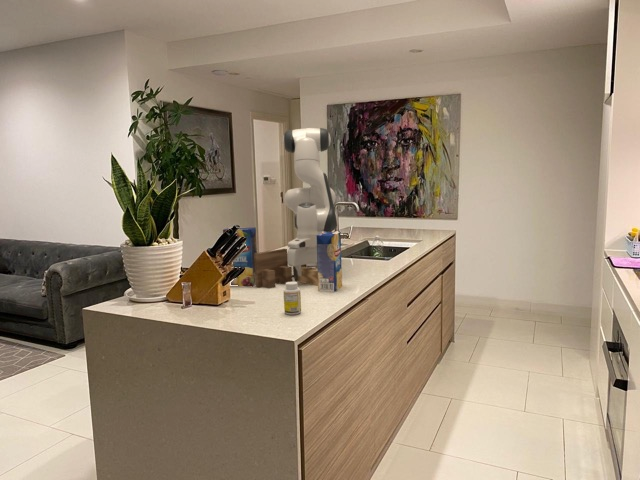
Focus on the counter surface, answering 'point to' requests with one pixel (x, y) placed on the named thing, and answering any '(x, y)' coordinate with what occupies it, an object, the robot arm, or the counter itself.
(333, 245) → the beverage box
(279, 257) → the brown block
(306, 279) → the rail
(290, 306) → the supplement bottle
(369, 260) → the counter surface
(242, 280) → the juice carton
